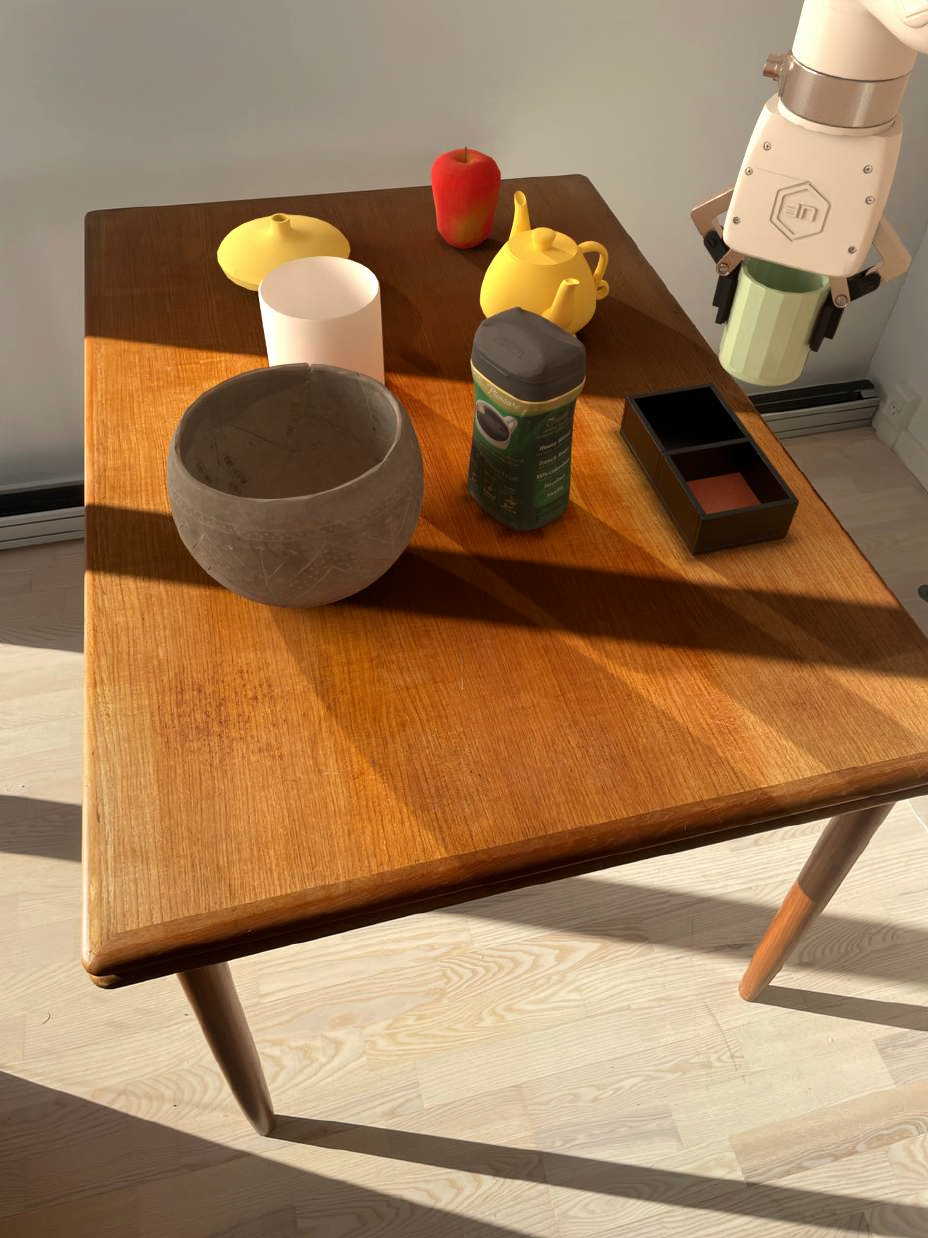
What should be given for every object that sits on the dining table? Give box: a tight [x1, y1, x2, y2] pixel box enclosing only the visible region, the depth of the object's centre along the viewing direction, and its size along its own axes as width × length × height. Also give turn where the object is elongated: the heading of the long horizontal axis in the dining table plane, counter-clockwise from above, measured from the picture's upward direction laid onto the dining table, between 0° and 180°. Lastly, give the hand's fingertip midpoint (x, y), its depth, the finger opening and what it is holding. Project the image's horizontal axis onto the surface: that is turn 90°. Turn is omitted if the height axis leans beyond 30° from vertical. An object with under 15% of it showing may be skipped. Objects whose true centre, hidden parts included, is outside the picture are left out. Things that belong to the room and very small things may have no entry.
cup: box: [258, 256, 386, 387], centre depth 98 cm, size 12×12×12 cm
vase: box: [216, 212, 351, 293], centre depth 115 cm, size 16×16×7 cm
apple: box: [430, 145, 502, 250], centre depth 119 cm, size 9×8×12 cm
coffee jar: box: [467, 307, 587, 532], centre depth 85 cm, size 10×8×19 cm
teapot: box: [479, 190, 610, 339], centre depth 107 cm, size 20×15×12 cm
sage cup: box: [718, 255, 831, 387], centre depth 76 cm, size 7×7×8 cm
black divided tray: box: [619, 381, 800, 557], centre depth 93 cm, size 18×9×5 cm, turn 16°
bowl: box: [166, 363, 425, 609], centre depth 81 cm, size 21×21×15 cm
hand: (770, 327), depth 76 cm, fingers closed on sage cup, 6 cm apart
